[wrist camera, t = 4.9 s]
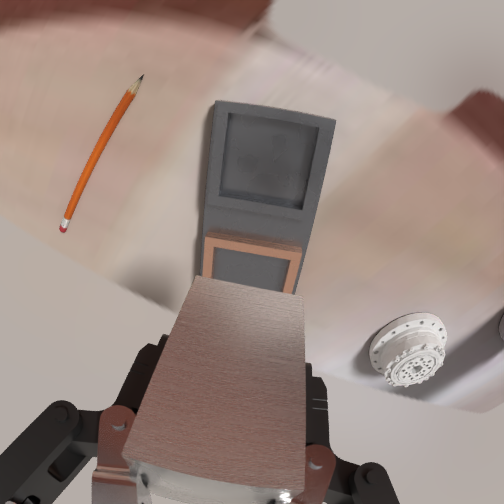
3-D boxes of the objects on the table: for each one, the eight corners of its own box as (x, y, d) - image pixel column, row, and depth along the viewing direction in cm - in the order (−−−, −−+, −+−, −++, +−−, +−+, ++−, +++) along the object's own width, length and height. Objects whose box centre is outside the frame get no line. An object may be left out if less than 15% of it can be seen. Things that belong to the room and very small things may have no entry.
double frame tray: (334, 118, 21) (338, 120, 19) (285, 318, 31) (285, 332, 29) (218, 99, 21) (212, 100, 19) (200, 303, 31) (195, 316, 30)
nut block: (303, 296, 12) (304, 490, 6) (279, 363, 15) (266, 515, 8) (196, 275, 12) (121, 454, 6) (191, 346, 15) (145, 491, 8)
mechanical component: (352, 344, 33) (391, 377, 35) (358, 374, 29) (397, 403, 32) (424, 295, 28) (453, 337, 31) (438, 323, 25) (464, 362, 27)
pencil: (62, 225, 29) (57, 229, 28) (142, 71, 21) (138, 71, 20) (67, 229, 29) (63, 233, 28) (149, 76, 21) (145, 76, 20)
